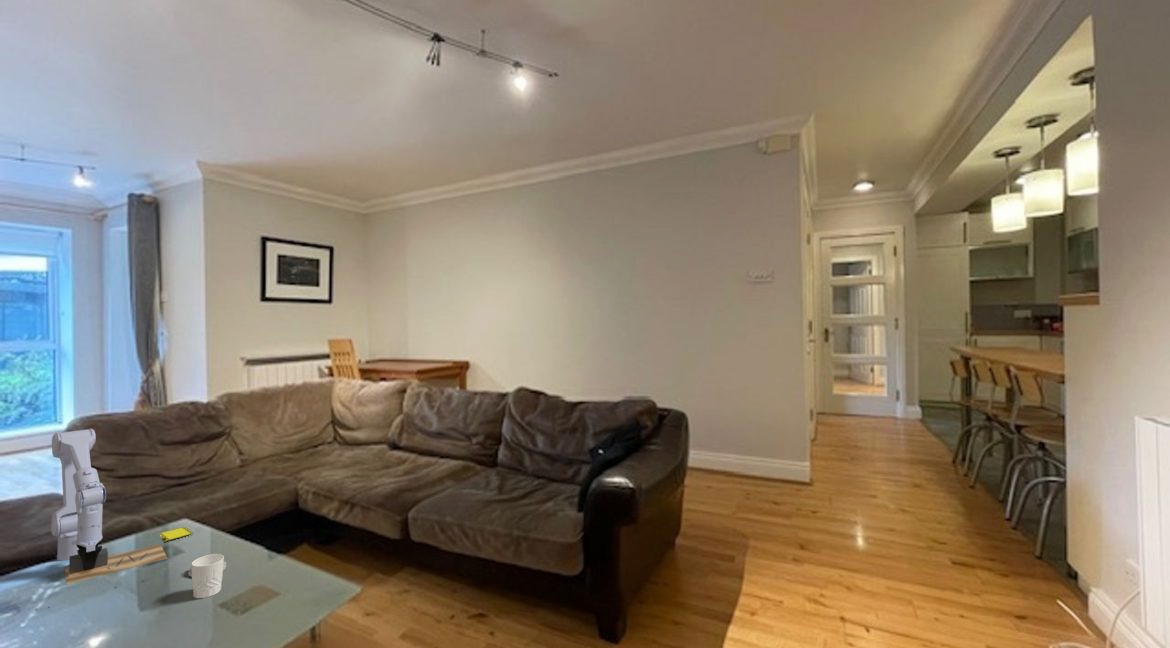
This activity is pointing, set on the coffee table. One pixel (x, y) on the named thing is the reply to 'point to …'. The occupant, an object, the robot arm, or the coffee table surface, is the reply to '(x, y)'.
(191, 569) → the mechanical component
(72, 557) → the block
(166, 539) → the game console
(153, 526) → the coffee table surface
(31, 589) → the coffee table surface
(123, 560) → the oak board
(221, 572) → the white cup
